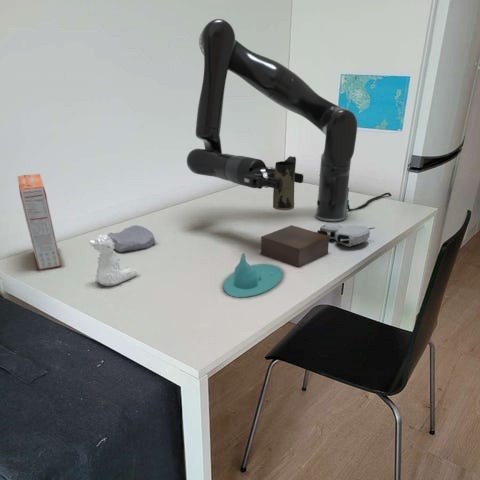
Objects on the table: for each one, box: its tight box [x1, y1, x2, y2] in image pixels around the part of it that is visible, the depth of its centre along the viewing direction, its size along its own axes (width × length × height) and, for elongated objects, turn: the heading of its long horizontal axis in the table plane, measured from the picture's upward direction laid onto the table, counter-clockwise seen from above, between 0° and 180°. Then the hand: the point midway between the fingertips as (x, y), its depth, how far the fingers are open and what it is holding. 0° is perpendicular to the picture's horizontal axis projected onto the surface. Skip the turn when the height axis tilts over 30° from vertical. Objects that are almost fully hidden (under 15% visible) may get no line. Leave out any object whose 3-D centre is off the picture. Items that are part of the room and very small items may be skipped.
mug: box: [272, 155, 297, 211], centre depth 122 cm, size 8×6×12 cm
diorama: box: [223, 252, 283, 299], centre depth 115 cm, size 12×20×9 cm, turn 151°
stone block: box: [107, 224, 156, 253], centre depth 136 cm, size 12×5×10 cm
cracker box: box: [17, 173, 62, 271], centre depth 123 cm, size 14×6×21 cm, turn 23°
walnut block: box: [260, 224, 330, 268], centre depth 130 cm, size 13×13×5 cm
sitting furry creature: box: [88, 233, 138, 287], centre depth 114 cm, size 10×9×12 cm
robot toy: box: [316, 222, 376, 248], centre depth 139 cm, size 12×4×15 cm
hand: (292, 181), depth 121 cm, fingers closed on mug, 8 cm apart
